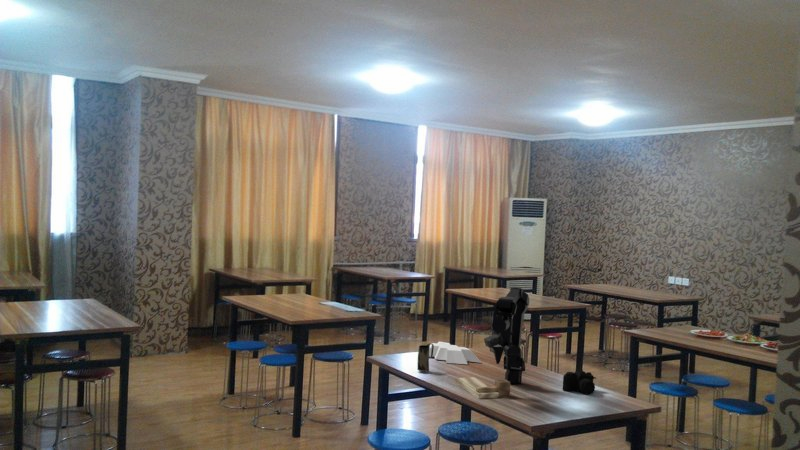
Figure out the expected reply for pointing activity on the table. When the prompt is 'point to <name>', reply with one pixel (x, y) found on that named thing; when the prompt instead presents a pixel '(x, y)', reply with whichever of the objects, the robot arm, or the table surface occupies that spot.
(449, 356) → the white faceted block
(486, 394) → the board
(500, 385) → the wooden mallet
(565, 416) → the table surface
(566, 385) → the film camera
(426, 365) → the mug
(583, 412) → the table surface
